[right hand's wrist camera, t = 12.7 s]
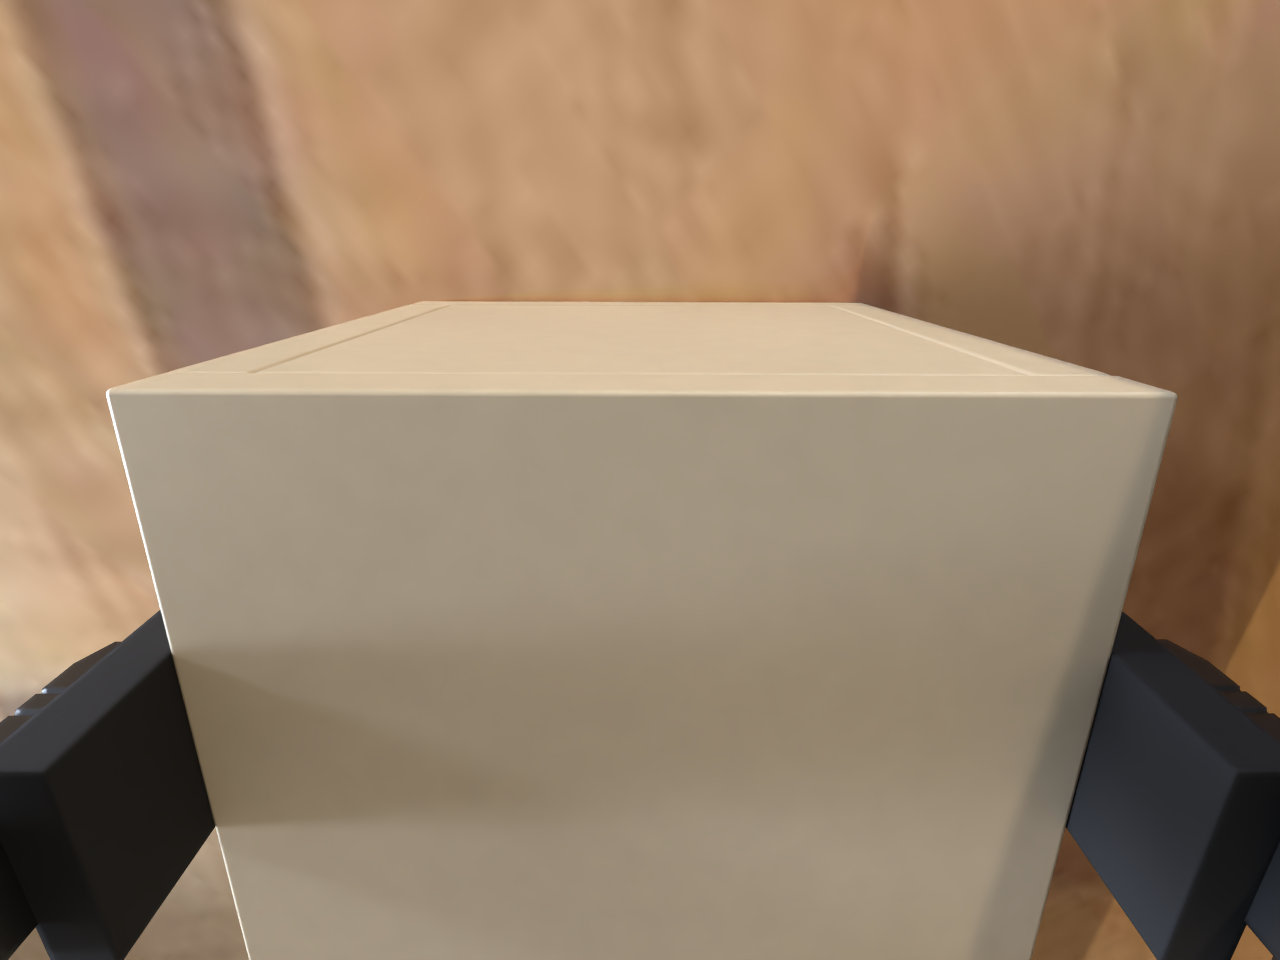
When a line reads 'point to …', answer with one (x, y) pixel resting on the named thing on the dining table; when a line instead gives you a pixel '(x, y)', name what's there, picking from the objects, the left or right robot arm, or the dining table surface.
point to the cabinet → (640, 625)
